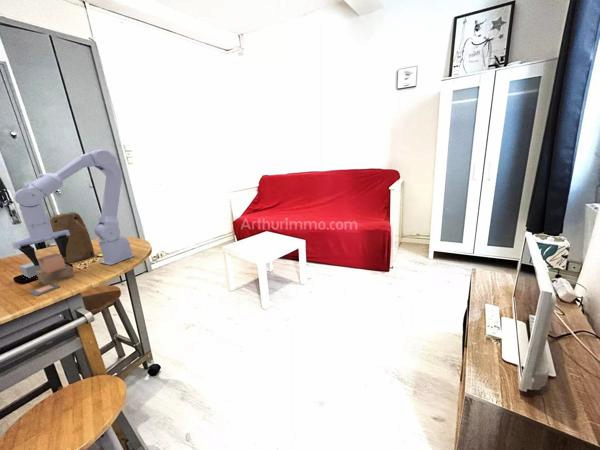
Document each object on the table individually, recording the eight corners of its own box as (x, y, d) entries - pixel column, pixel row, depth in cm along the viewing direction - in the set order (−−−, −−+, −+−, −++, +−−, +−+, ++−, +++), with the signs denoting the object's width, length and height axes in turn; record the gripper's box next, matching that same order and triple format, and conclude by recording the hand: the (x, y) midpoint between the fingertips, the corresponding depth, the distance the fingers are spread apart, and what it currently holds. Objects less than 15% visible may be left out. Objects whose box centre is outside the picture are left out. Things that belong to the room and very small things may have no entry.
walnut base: (67, 272, 100) (64, 263, 99) (75, 276, 96) (71, 266, 95) (39, 281, 94) (35, 271, 93) (46, 286, 90) (42, 276, 89)
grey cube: (41, 272, 101) (37, 260, 100) (47, 274, 99) (43, 262, 98) (24, 278, 97) (19, 266, 96) (30, 280, 95) (25, 268, 93)
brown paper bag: (62, 265, 107) (46, 217, 102) (64, 259, 113) (49, 214, 108) (95, 257, 113) (81, 212, 108) (95, 252, 119) (82, 209, 114)
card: (51, 284, 90) (51, 282, 90) (60, 287, 88) (59, 285, 88) (28, 292, 85) (28, 291, 85) (37, 296, 83) (36, 294, 83)
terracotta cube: (59, 265, 97) (55, 252, 96) (65, 267, 95) (61, 254, 93) (41, 271, 93) (37, 258, 91) (48, 273, 91) (43, 260, 89)
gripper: (13, 231, 81) (28, 271, 85) (69, 218, 94) (80, 254, 97) (4, 229, 84) (19, 268, 88) (59, 217, 97) (70, 252, 100)
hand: (50, 260), depth 93 cm, fingers open, 7 cm apart
